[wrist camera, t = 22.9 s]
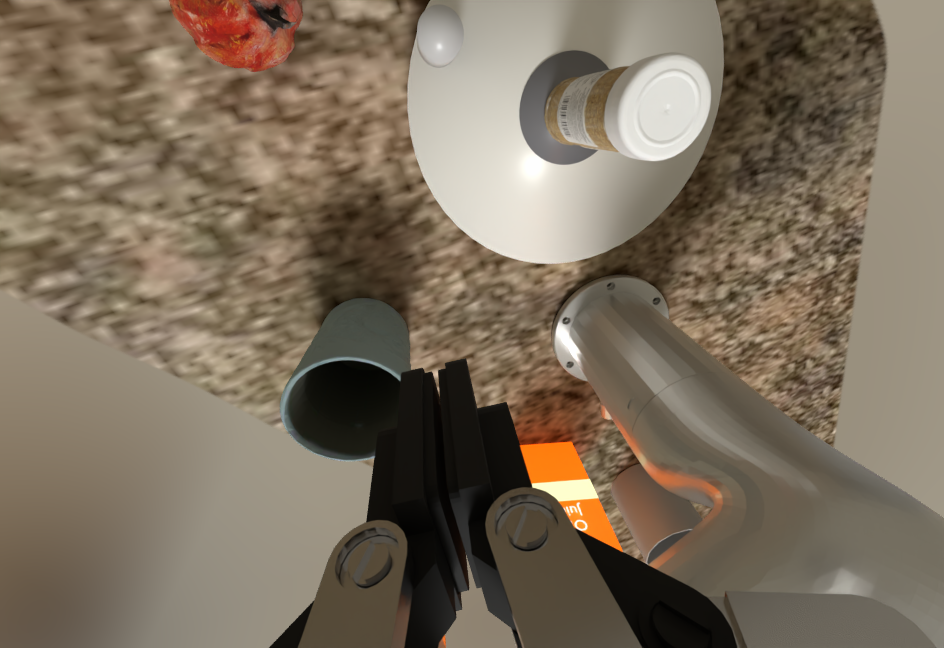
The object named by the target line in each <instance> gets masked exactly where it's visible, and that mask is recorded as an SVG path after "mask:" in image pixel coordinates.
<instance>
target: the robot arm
mask: <svg viewBox="0 0 944 648" xmlns="http://www.w3.org/2000/svg"><path fill="white" fill-rule="evenodd" d="M563 318H564V319H563ZM552 346H553V351H554V353H555V355H556V357H557V359H558V361H559V363H560V364H561V366H562V367H563V368H564V369H565V370H566V371H567V372H568V373H569V374H571V375H573V376H574V377H576V378H578V379H581V380H584V381H588V382H589V383H590V385H591V386H592V388H593V389H594V391H595V393H596V394H597V396H598V397H599V399H600V414H601V416H602V417H603V418H605V419H609V420H610V419H613V421H614V422H615V424H616V426H617V427H618V429H619V430H620V432H621V433H622V435H623V437H624V438H625V440H626V441H627V443H628V444H629V446H630V448H631V449H632V451H633V452H634V454H635V456H636V457H637V458H638V460H639V462H640V463H641V465H642V466H643V468H644V469H645V470H646V472H647V473H648V474H649V475H650V476H651V478H653V479H654V480H655V481H656V482H657V483H658V484H659V485H660V486H662V487H663V488H665V489H666V490H668V491H669V492H671V493H673V494H675V495H677V496H679V497H681V498H684V499H686V500H689V501H692V502H695V503H698V504H702V505H705V506H709V507H712V508H713V509H712V511H711V512H710V513H709V514H708V515H707V516H706V517H705V518H704V519H703V520H702V521H701V522H699V523H698V524H697V525H696V526H695V527H694V528H693V530H691V531H690V532H689V533H688V534H686V535H685V536H684V537H683V538H681V539H680V540H679V541H677V542H676V543H675V544H674V545H672V546H671V547H670V548H669V549H667V550H666V551H665V552H664V553H662V554H661V555H660V556H659V557H657V558H656V559H655V560H653V561H652V562H651V563H650V564H648V565H647V564H645V563H643V562H641V561H639V560H637V559H636V558H634V557H632V556H630V555H628V554H626V553H624V552H622V551H620V550H618V549H616V548H614V547H612V546H610V545H608V544H606V543H604V542H602V541H600V540H598V539H596V538H594V537H592V536H590V535H588V534H587V533H585V532H583V531H581V530H579V529H577V528H575V527H574V526H573V524H572V522H571V520H570V519H569V517H568V515H567V513H566V512H565V510H564V508H563V507H562V505H561V504H560V503H559V501H558V500H557V499H556V498H555V497H553V496H552V495H551V494H549V493H548V492H546V491H543V490H540V489H537V488H533V487H532V483H531V480H530V477H529V474H528V470H527V467H526V464H525V460H524V457H523V454H522V451H521V447H520V444H519V441H518V438H517V434H516V431H515V428H514V424H513V421H512V418H511V415H510V411H509V408H508V405H507V403H506V402H504V403H500V404H495V405H491V406H486V407H482V408H477V405H476V401H475V396H474V392H473V387H472V383H471V379H470V374H469V370H468V365H467V361H466V358H465V359H461V360H456V361H452V362H447V363H445V366H446V369H441V370H438V376H439V389H440V398H439V394H438V390H437V387H436V383H435V380H434V376H433V373H432V372H428V373H425V372H424V369H423V368H419V369H415V370H410V371H406V372H402V373H401V379H400V393H399V408H398V423H397V426H395V427H391V428H386V429H382V430H380V431H379V432H378V436H377V443H376V450H375V458H374V466H373V474H372V482H371V490H370V497H369V505H368V513H367V521H366V523H364V524H362V525H360V526H358V527H356V528H354V529H352V530H351V531H350V532H349V533H347V534H346V535H345V536H344V537H343V538H342V539H341V540H340V541H339V543H338V544H337V545H336V546H335V548H334V550H333V552H332V553H331V555H330V558H329V560H328V562H327V565H326V568H325V571H324V574H323V577H322V580H321V583H320V586H319V588H318V592H317V594H316V597H315V600H314V601H313V602H312V603H311V604H310V606H309V607H307V608H306V610H305V611H304V612H303V613H302V614H301V615H300V616H299V617H298V618H297V619H296V620H295V621H294V622H293V623H292V624H291V625H290V626H289V628H287V629H286V630H285V632H284V633H283V634H282V635H281V636H280V637H279V638H278V639H277V640H276V641H275V642H274V643H273V644H272V645H271V646H270V647H269V648H446V641H445V634H446V632H447V631H448V629H449V628H450V627H451V625H452V624H453V622H454V621H455V619H456V611H458V610H462V603H461V592H463V591H467V590H469V579H468V570H467V561H466V555H467V558H468V561H469V565H470V568H471V571H472V574H473V578H474V581H475V584H476V587H477V588H481V587H482V590H483V594H484V597H485V601H486V604H487V608H488V611H490V612H491V613H492V614H493V615H495V616H496V617H497V618H499V619H500V620H501V621H503V622H504V623H505V624H507V625H508V626H509V627H511V631H512V635H513V637H514V641H515V644H516V647H517V648H944V518H943V517H941V516H940V515H939V514H937V513H936V512H934V511H933V510H931V509H930V508H929V507H927V506H926V505H924V504H923V503H921V502H920V501H918V500H917V499H915V498H914V497H912V496H911V495H909V494H908V493H906V492H905V491H903V490H902V489H900V488H898V487H897V486H895V485H893V484H892V483H890V482H888V481H887V480H885V479H883V478H882V477H880V476H879V475H877V474H875V473H874V472H872V471H870V470H869V469H867V468H865V467H864V466H862V465H861V464H859V463H857V462H855V461H854V460H852V459H851V458H849V457H847V456H846V455H844V454H843V453H841V452H839V451H838V450H836V449H835V448H833V447H832V446H830V445H829V444H827V443H826V442H824V441H823V440H821V439H820V438H818V437H817V436H815V435H814V434H812V433H811V432H809V431H808V430H806V429H805V428H803V427H802V426H800V425H799V424H798V423H796V422H795V421H794V420H793V419H791V418H790V417H789V416H787V415H786V414H785V413H783V412H782V411H781V410H779V409H778V408H777V407H775V406H774V405H773V404H772V403H770V402H769V401H768V400H766V399H765V398H764V397H763V396H761V395H760V394H759V393H758V392H756V391H755V390H754V389H753V388H751V387H750V386H749V385H748V384H747V383H745V382H744V381H743V380H742V379H740V378H739V377H738V376H737V375H735V374H734V373H733V372H732V371H731V370H729V369H728V368H727V367H726V366H725V365H723V364H722V363H721V362H720V361H718V360H717V359H716V358H715V357H714V356H712V355H711V354H710V353H709V352H708V351H706V350H705V349H704V348H703V347H701V346H700V345H699V344H698V343H697V342H695V341H694V340H693V339H692V338H690V337H689V336H688V335H687V334H686V333H684V332H683V331H682V330H681V329H680V328H678V327H677V326H676V325H675V324H673V323H672V322H671V321H670V320H669V310H668V307H667V304H666V301H665V299H664V298H663V296H662V294H661V293H660V292H659V291H658V290H657V289H656V288H655V287H654V286H652V285H651V284H649V283H648V282H647V281H645V280H642V279H640V278H638V277H634V276H630V275H611V276H605V277H602V278H599V279H596V280H593V281H591V282H590V283H588V284H586V285H584V286H582V287H581V288H580V289H578V290H577V291H576V292H575V293H573V294H572V295H571V296H570V297H569V298H568V299H567V301H566V302H565V303H564V304H563V306H562V307H561V309H560V310H559V312H558V314H557V316H556V319H555V321H554V324H553V329H552Z"/></svg>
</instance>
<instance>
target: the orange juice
mask: <svg viewBox="0 0 944 648" xmlns="http://www.w3.org/2000/svg"><path fill="white" fill-rule="evenodd" d="M520 447H521V451H522V454H523V457H524V460H525V464H526V467H527V470H528V474H529V477H530V480H531V483H532V487H533V488H537V489H540V490H543V491H546V492H548V493H549V494H551V495H552V496H553V497H555V498H556V499H557V500H558V501H559V503H560V504H561V505H562V507H563V508H564V510H565V512H566V513H567V515H568V517H569V519H570V520H571V522H572V524H573V526H574V527H575V528H577V529H579V530H581V531H583V532H585V533H587V534H588V535H590V536H592V537H594V538H596V539H598V540H600V541H602V542H604V543H606V544H608V545H610V546H612V547H614V548H616V549H618V550H620V551H622V548H621V547H620V544H619V542H618V540H617V538H616V536H615V534H614V532H613V529H612V527H611V525H610V523H609V521H608V519H607V516H606V514H605V512H604V510H603V508H602V506H601V504H600V501H599V499H598V496H597V494H596V492H595V490H594V487H593V485H592V483H591V481H590V479H589V478H588V476H587V474H586V471H585V469H584V467H583V465H582V463H581V461H580V459H579V456H578V454H577V452H576V450H575V448H574V446H573V444H572V442H561V443H546V444H532V445H520Z"/></svg>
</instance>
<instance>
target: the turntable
mask: <svg viewBox="0 0 944 648" xmlns="http://www.w3.org/2000/svg"><path fill="white" fill-rule="evenodd" d="M670 52H677V53H683V54H686V55H689V56H691V57H693V58H694V59H695V60H697V61H698V62H699V63H700V64H701V65H702V67H703V68H704V69H705V71H706V73H707V75H708V78H709V81H710V85H711V105H710V110H709V114H708V117H707V120H706V122H705V125H704V126H703V128H702V130H701V132H700V133H699V135H698V136H697V137H696V139H695V140H694V141H693V142H692V143H691V144H690V145H689V146H688V147H687V148H686V149H685V150H683V151H682V152H680V153H679V154H677V155H675V156H674V157H671V158H668V159H665V160H661V161H645V160H638V159H633V158H629V157H627V156H625V155H623V154H621V153H620V152H614V151H607V150H595V149H589V148H585V147H581V146H580V145H566V144H562V143H560V142H558V141H557V140H555V139H554V138H553V137H552V135H551V134H550V133H549V131H548V130H547V127H546V123H545V119H544V116H545V106H546V102H547V99H548V97H549V95H550V93H551V92H552V91H553V89H554V88H555V87H556V86H557V85H558V84H560V83H561V82H562V81H564V80H566V79H569V78H572V77H582V76H584V75H588V74H592V73H597V72H601V71H605V70H610V69H613V68H617V67H623V66H631V65H632V64H634V63H635V62H637V61H639V60H641V59H644V58H647V57H650V56H654V55H658V54H664V53H670ZM723 70H724V50H723V36H722V29H721V22H720V16H719V12H718V9H717V5H716V1H715V0H430V1H429V3H428V5H427V7H426V9H425V11H424V12H423V13H422V15H421V17H420V18H419V21H418V25H417V34H416V39H415V43H414V47H413V51H412V55H411V60H410V69H409V77H408V117H409V126H410V134H411V138H412V142H413V146H414V151H415V155H416V158H417V161H418V163H419V166H420V169H421V171H422V174H423V177H424V179H425V181H426V183H427V184H428V186H429V188H430V190H431V192H432V194H433V196H434V197H435V199H436V200H437V202H438V203H439V205H440V206H441V207H442V209H443V210H444V212H445V213H446V214H447V215H448V216H449V217H450V218H451V220H452V221H453V222H454V223H455V224H456V225H457V226H458V227H459V228H460V229H461V230H463V231H464V232H465V233H466V234H467V235H469V236H470V237H471V238H472V239H474V240H475V241H477V242H478V243H480V244H482V245H483V246H485V247H486V248H488V249H490V250H493V251H495V252H497V253H499V254H501V255H504V256H507V257H510V258H513V259H517V260H520V261H526V262H532V263H547V264H556V263H566V262H573V261H578V260H582V259H587V258H590V257H593V256H596V255H599V254H601V253H604V252H607V251H609V250H611V249H613V248H615V247H617V246H619V245H621V244H623V243H624V242H626V241H627V240H629V239H630V238H632V237H634V236H635V235H637V234H638V233H639V232H641V231H642V230H643V229H644V228H646V227H647V226H648V225H649V224H651V223H652V222H653V221H654V220H655V219H656V218H657V217H658V216H659V215H660V214H661V213H662V212H663V211H664V210H665V209H666V208H667V207H668V206H669V205H670V204H671V202H672V201H673V200H674V199H675V197H676V196H677V195H678V194H679V193H680V191H681V190H682V188H683V187H684V185H685V184H686V182H687V181H688V179H689V178H690V176H691V175H692V173H693V171H694V169H695V168H696V166H697V164H698V162H699V160H700V158H701V156H702V154H703V152H704V150H705V147H706V145H707V142H708V140H709V137H710V135H711V132H712V129H713V125H714V122H715V119H716V115H717V112H718V107H719V102H720V96H721V91H722V82H723Z"/></svg>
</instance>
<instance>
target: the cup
mask: <svg viewBox="0 0 944 648" xmlns="http://www.w3.org/2000/svg"><path fill="white" fill-rule="evenodd" d="M611 495H612V497H613V499H614V501H615V503H616V505H617V507H618V508H619V510H620V512H621V514H622V516H623V518H624V520H625V522H626V524H627V526H628V528H629V530H630V532H631V534H632V536H633V538H634V540H635V542H636V544H637V546H638V548H639V550H640V552H641V554H642V556H643V558H644V560H645V562H646V564H647V565H648V564H650V563H651V562H652V561H653V560H655V559H656V558H657V557H659V556H660V555H661V554H662V553H664V552H665V551H666V550H667V549H669V548H670V547H671V546H672V545H674V544H675V543H676V542H677V541H679V540H680V539H681V538H683V537H684V536H685V535H686V534H688V533H689V532H690V531H691V530H693V528H694V527H695V526H696V525H697V524H698V523H699V522H701V521H702V518H701V517H700V515H699V514H698V512H697V511H696V510H695V508H694V507H693V505H692V504H691V502H690V501H689V500H686V499H684V498H681V497H679V496H677V495H675V494H673V493H671V492H669V491H668V490H666V489H665V488H663V487H662V486H660V485H659V484H658V483H657V482H656V481H655V480H654V479H653V478H651V476H650V475H649V474H648V473H647V472H646V470H645V469H644V468H643V466H642V465H641V464H637V465H634V466H631V467H629V468H628V469H626V470H625V471H623V472H622V473H620V474H619V475H618V477H617V478H616V479H615V481H614V482H613V483H612V488H611Z"/></svg>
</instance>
